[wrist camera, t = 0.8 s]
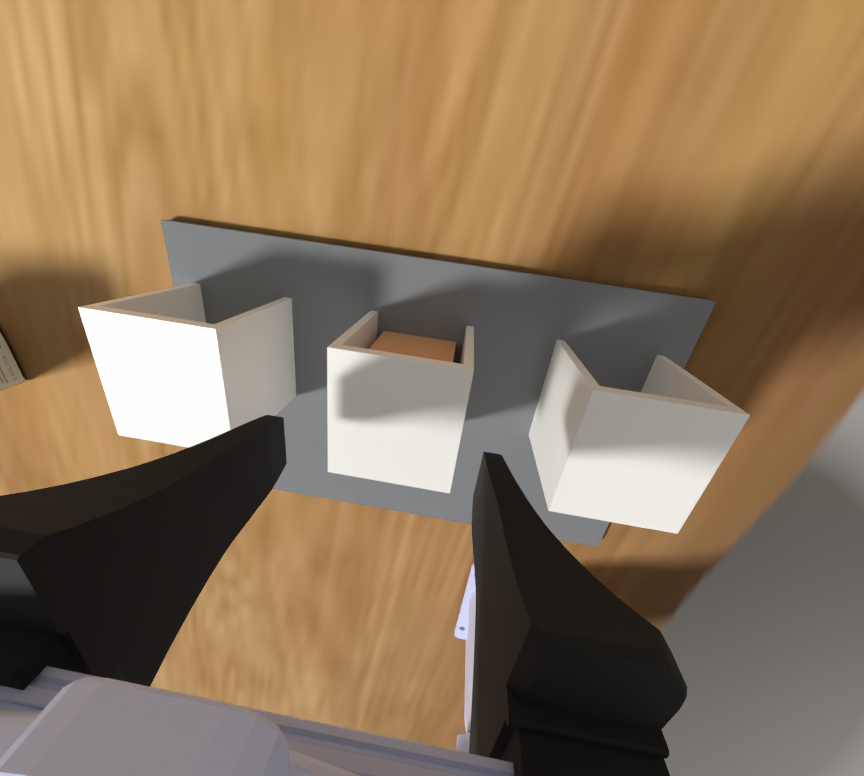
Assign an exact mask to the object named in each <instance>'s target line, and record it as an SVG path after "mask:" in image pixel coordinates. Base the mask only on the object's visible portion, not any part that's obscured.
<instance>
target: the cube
mask: <svg viewBox="0 0 864 776" xmlns="http://www.w3.org/2000/svg"><path fill="white" fill-rule="evenodd" d="M455 346H456V342H453V341H446V340H440V339H434V338H427V337H421V336H415V335H408V334H402V333H396V332H389V331H383V333H382V334H381V335H380V336H379V337H378V339H377V340H376V341H375V342H374V343H373V345H372V346H371V347H370V348H369V349H372V350H378V351H385V352H391V353H397V354H403V355H410V356H416V357H422V358H428V359H435V360H441V361H447V362H453V359H454V353H455Z"/></svg>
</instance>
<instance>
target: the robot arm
mask: <svg viewBox="0 0 864 776" xmlns="http://www.w3.org/2000/svg"><path fill="white" fill-rule="evenodd" d="M286 464H287V460H286V445H285V431H284V417H278V416H272V415H265V416H262V417H259V418H257V419H255V420H252V421H250V422H248V423H245V424H243V425H241V426H239V427H236V428H234V429H232V430H230V431H227V432H225V433H223V434H220V435H218V436H216V437H214V438H211V439H209V440H207V441H204V442H202V443H199V444H197V445H194V446H192V447H189V448H187V449H184V450H182V451H179V452H177V453H174V454H171V455H168V456H166V457H163V458H160V459H157V460H154V461H151V462H148V463H144V464H141V465H138V466H135V467H132V468H128V469H124V470H120V471H117V472H113V473H109V474H106V475H102V476H98V477H94V478H90V479H86V480H82V481H77V482H73V483H68V484H64V485H59V486H54V487H49V488H44V489H39V490H33V491H28V492H22V493H16V494H9V495H3V496H0V776H670V775H669V772H668V769H667V766H666V763H665V761H664V758H667V757H668V756H669V749H668V746H667V744H666V741H665V738H664V736H663V733H662V730H661V729H662V728H663V727H664V726H665V725H666V724H667V722H668V721H669V720H670V719H671V718H672V717H673V716H674V715H675V714H676V713H677V711H678V710H679V709H680V708H681V706H682V704H683V703H684V701H685V699H686V697H687V686H686V684H685V681H684V679H683V677H682V675H681V673H680V671H679V668H678V666H677V663H676V661H675V659H674V657H673V655H672V652H671V650H670V648H669V647H668V645H667V643H666V641H665V639H664V637H663V635H662V633H661V632H660V630H658V629H657V628H656V627H654V626H653V625H652V624H651V623H649V622H648V621H647V620H645V619H644V618H643V617H642V616H640V615H639V614H638V613H636V612H635V611H634V610H633V609H631V608H630V607H629V606H627V605H626V604H625V603H624V602H622V601H621V600H620V599H619V598H618V597H616V596H615V595H614V594H613V593H612V592H611V591H610V590H608V589H607V588H606V587H605V586H604V585H603V584H602V583H600V582H599V581H598V580H597V579H596V578H595V577H594V576H593V575H592V574H591V573H590V572H589V571H587V570H586V569H585V568H584V567H583V566H582V565H581V564H580V563H579V562H578V560H577V559H576V558H575V557H574V556H573V555H572V554H571V553H570V552H569V551H568V550H567V549H566V548H565V547H564V546H563V545H562V544H561V543H560V541H559V540H558V539H557V538H556V537H555V535H554V534H553V533H552V532H551V531H550V530H549V528H548V527H547V526H546V525H545V523H544V522H543V521H542V519H541V518H540V517H539V515H538V514H537V512H536V511H535V510H534V508H533V507H532V505H531V504H530V502H529V501H528V499H527V498H526V496H525V495H524V493H523V491H522V490H521V488H520V487H519V485H518V483H517V482H516V480H515V478H514V476H513V475H512V473H511V471H510V469H509V467H508V466H507V464H506V462H505V460H504V458H503V456H502V455H501V454H495V453H489V452H483V456H482V461H481V465H480V469H479V473H478V478H477V482H476V486H475V490H474V494H473V506H472V538H473V554H474V563H473V564H472V567H471V571H470V574H469V578H468V582H467V586H466V589H465V593H464V597H463V601H462V605H461V608H460V612H459V616H458V620H457V623H456V627H455V636H456V637H457V638H460V639H465V640H466V658H465V708H464V719H465V728H466V733H464V734H458V735H457V751H455V750H450V749H445V748H440V747H436V746H431V745H426V744H421V743H416V742H411V741H407V740H402V739H397V738H392V737H387V736H382V735H378V734H373V733H368V732H363V731H358V730H353V729H349V728H344V727H339V726H334V725H329V724H325V723H320V722H315V721H310V720H305V719H300V718H296V717H291V716H286V715H281V714H276V713H271V712H267V711H262V710H257V709H252V708H247V707H242V706H238V705H234V704H231V703H226V702H221V701H217V700H212V699H207V698H202V697H197V696H192V695H188V694H183V693H178V692H173V691H168V690H163V689H159V688H154V687H150V685H151V683H152V681H153V679H154V677H155V675H156V673H157V672H158V670H159V668H160V666H161V664H162V662H163V660H164V658H165V656H166V654H167V652H168V650H169V648H170V646H171V644H172V642H173V641H174V639H175V637H176V635H177V633H178V631H179V630H180V628H181V626H182V624H183V622H184V620H185V619H186V617H187V615H188V613H189V611H190V610H191V608H192V606H193V604H194V603H195V601H196V599H197V598H198V596H199V594H200V592H201V591H202V589H203V587H204V586H205V584H206V582H207V580H208V579H209V577H210V576H211V574H212V572H213V571H214V569H215V567H216V566H217V564H218V563H219V561H220V559H221V558H222V556H223V554H224V553H225V551H226V550H227V549H228V547H229V546H230V544H231V543H232V541H233V540H234V539H235V537H236V536H237V535H238V533H239V532H240V531H241V530H242V528H243V527H244V526H245V524H246V523H247V522H248V520H249V519H250V518H251V516H252V515H253V514H254V513H255V511H256V510H257V509H258V507H259V506H260V505H261V503H262V502H263V501H264V499H265V498H266V497H267V495H268V494H269V493H270V491H271V490H272V488H273V487H274V485H275V484H276V482H277V480H278V478H279V477H280V475H281V473H282V471H283V469H284V468H285V466H286Z"/></svg>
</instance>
